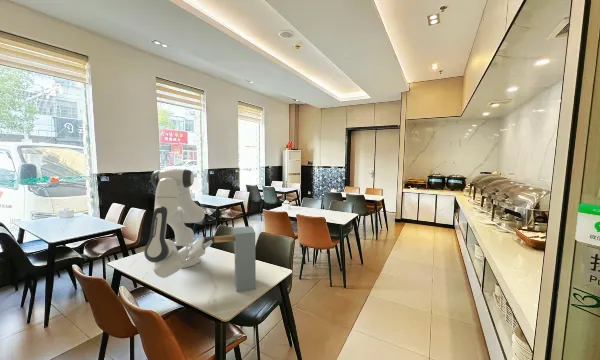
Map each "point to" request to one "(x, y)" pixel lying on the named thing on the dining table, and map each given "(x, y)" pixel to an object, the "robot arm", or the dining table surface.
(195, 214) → the robot arm
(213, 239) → the lever
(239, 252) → the cabinet
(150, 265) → the dining table surface
